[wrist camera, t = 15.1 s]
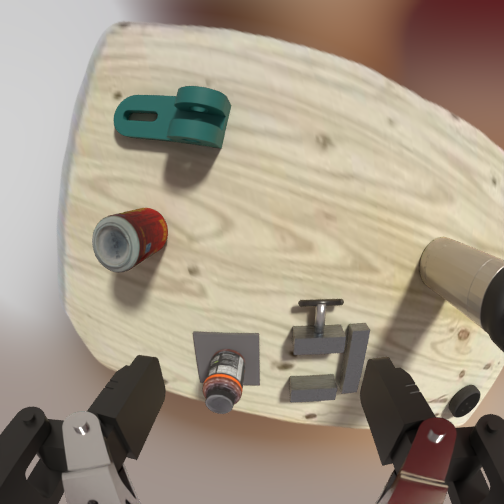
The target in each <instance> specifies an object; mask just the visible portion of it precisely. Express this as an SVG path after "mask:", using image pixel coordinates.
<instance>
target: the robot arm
mask: <svg viewBox="0 0 504 504" xmlns="http://www.w3.org/2000/svg"><path fill="white" fill-rule="evenodd" d="M420 275H421V278H422V280H423V282H424V283H425V284H426V285H427V286H428V287H429V288H431V289H432V290H433V291H435V292H436V293H437V294H439V295H440V296H441V297H443V298H444V299H445V300H447V301H448V302H449V303H450V304H452V305H453V306H454V307H456V308H457V309H458V310H460V311H461V312H462V313H463V314H465V315H466V316H467V317H468V318H470V319H471V320H472V321H474V322H475V323H476V324H477V325H479V326H480V327H481V328H482V329H483V330H484V331H486V332H487V333H488V334H489V336H490V338H491V340H492V341H493V342H494V343H495V344H496V345H497V346H498V347H499V348H500V349H501V350H502V351H503V352H504V260H502V259H500V258H497V257H495V256H492V255H490V254H488V253H485V252H483V251H480V250H478V249H475V248H473V247H470V246H468V245H465V244H463V243H460V242H458V241H455V240H452V239H449V238H447V237H440V238H437V239H435V240H433V241H432V242H431V243H430V244H429V245H428V246H427V247H426V249H425V250H424V252H423V254H422V257H421V261H420ZM165 392H166V391H165V384H164V380H163V376H162V372H161V368H160V364H159V360H158V358H156V357H150V356H142V355H138V356H137V357H136V358H135V359H134V361H133V362H132V364H131V365H130V366H127V365H126V366H124V367H123V368H121V369H120V370H118V371H117V372H116V373H115V374H114V376H113V377H112V378H111V379H110V382H108V383H107V385H106V386H105V388H104V389H103V390H102V392H101V393H100V394H99V396H98V397H97V398H96V400H95V401H94V402H93V404H92V405H91V406H90V408H89V409H88V411H87V412H85V411H80V412H75V413H73V414H71V415H69V416H68V417H67V418H66V419H65V420H64V421H61V420H52V419H47V417H46V416H45V414H44V412H43V411H42V410H41V409H40V408H37V407H27V408H24V409H22V410H21V411H19V412H18V413H17V415H16V416H15V417H14V418H13V419H12V421H11V422H10V423H9V425H8V426H7V427H6V428H5V429H4V431H3V432H2V434H1V435H0V504H58V503H59V501H60V499H61V497H62V495H63V493H64V492H65V496H66V501H67V504H141V503H140V501H139V499H138V496H137V494H136V492H135V489H134V487H133V485H132V482H131V480H130V478H129V475H128V473H127V470H126V468H125V465H124V464H123V463H124V461H125V459H126V457H128V458H132V459H136V460H137V459H138V457H139V454H140V452H141V450H142V448H143V445H144V443H145V441H146V439H147V437H148V435H149V432H150V430H151V428H152V426H153V423H154V422H155V419H156V417H157V415H158V413H159V411H160V408H161V406H162V404H163V402H164V399H165ZM360 399H361V404H362V407H363V410H364V413H365V415H366V418H367V421H368V424H369V427H370V430H371V433H372V436H373V438H374V441H375V445H376V447H377V451H378V454H379V457H380V460H381V463H382V465H387V464H392V463H393V465H394V468H395V469H394V471H393V472H392V474H391V476H390V478H389V480H388V482H387V484H386V486H385V487H384V489H383V491H382V493H381V494H380V496H379V498H378V500H377V501H376V503H375V504H443V503H444V500H445V497H446V494H447V491H448V494H449V497H450V500H451V503H452V504H504V420H503V419H502V418H501V417H499V416H497V415H493V414H488V415H484V416H483V417H481V418H480V419H479V420H478V422H477V424H476V425H475V426H474V427H462V428H455V426H454V425H453V424H452V423H451V422H450V421H448V420H446V419H444V418H439V417H435V415H434V413H433V412H432V410H431V408H430V406H429V405H428V403H427V402H426V400H425V398H424V397H423V395H422V393H421V392H419V388H418V387H417V385H415V382H414V381H413V379H412V377H411V376H410V374H408V373H407V372H406V371H404V370H403V369H401V368H395V367H394V365H393V363H392V362H391V360H390V359H389V357H382V358H374V359H369V360H368V362H367V366H366V370H365V374H364V378H363V382H362V386H361V391H360ZM36 454H37V455H38V457H39V458H40V459H39V461H38V463H37V464H36V466H35V467H34V469H33V471H32V472H31V474H30V476H29V477H28V479H27V480H26V477H25V472H26V469H27V468H28V466H29V464H30V463H31V461H32V460H33V458H34V457H35V455H36ZM481 467H483V469H484V471H485V474H486V476H487V478H488V480H489V482H490V490H489V487H488V485H487V483H486V480H485V478H484V476H483V474H482V472H481ZM444 482H445V483H444Z"/></svg>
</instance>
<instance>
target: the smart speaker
mask: <svg viewBox="0 0 504 504" xmlns="http://www.w3.org/2000/svg"><path fill="white" fill-rule="evenodd" d="M479 399H480V391H479V390H478V389H477V388H476V387H475V386H474V385H469V386H466V387H464V388H463V389H461V390H460V391H459V392H458V393H457V394H456V395H455V396H454V397H453V399H452V400H451V402H450V406H449V409H450V411H451V413H452V414H453V416H454V417H462V416H464V415H466V414H467V413H469V412H470V411H471V410H472V409H473V408H474V407H475V406H476V405H477V403H478V401H479Z"/></svg>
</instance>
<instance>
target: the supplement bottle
mask: <svg viewBox="0 0 504 504" xmlns="http://www.w3.org/2000/svg"><path fill="white" fill-rule="evenodd" d="M244 373H245V360H244V358H243V356H242V355H241V354H240V353H239V352H237V351H235V350H231V349H223V350H219V351H217V352H216V353H215V354H214V355H213V357H212V359H211V362H210V365H209V369H208V372H207V375H206V378H205V381H204V384H203V394H204V396H205V398H206V401H205V403H206V406H207V407H208V409H210V410H211V411H213V412H215V413H220V414H224V413H228V412H230V411H231V410H232V408H233V405H234V404H236V403H237V402H238V401H239V400H240V398H241V395H242V389H243V381H244Z"/></svg>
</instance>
